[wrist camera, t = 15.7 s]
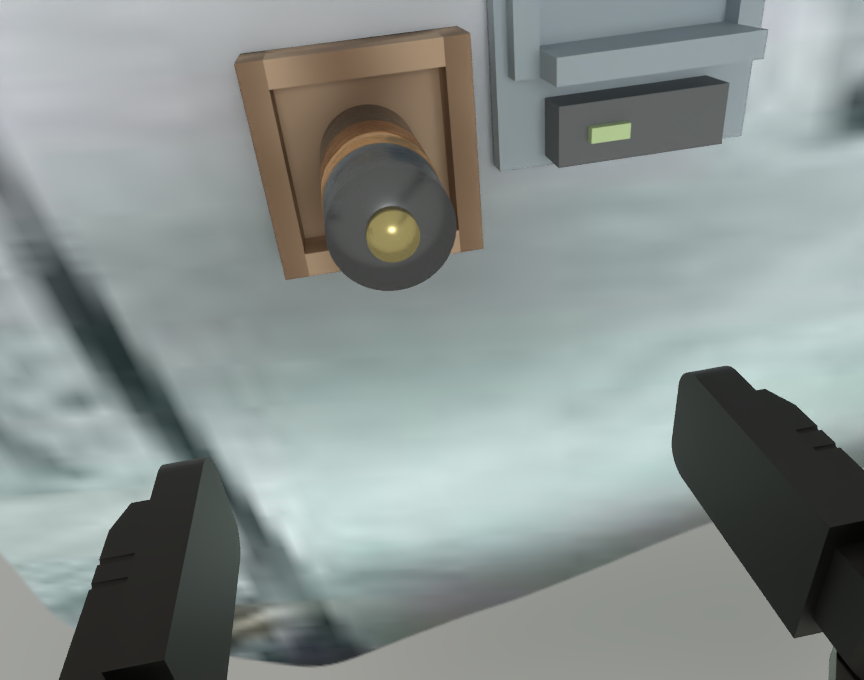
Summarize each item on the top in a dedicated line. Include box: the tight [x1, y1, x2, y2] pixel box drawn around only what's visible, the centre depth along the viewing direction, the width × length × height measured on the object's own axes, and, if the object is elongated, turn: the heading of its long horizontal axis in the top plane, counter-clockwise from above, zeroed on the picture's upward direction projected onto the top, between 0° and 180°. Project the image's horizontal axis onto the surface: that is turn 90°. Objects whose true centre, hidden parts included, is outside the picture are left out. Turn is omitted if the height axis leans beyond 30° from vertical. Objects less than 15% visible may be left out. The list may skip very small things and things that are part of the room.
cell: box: [320, 104, 456, 291], centre depth 23 cm, size 4×4×9 cm
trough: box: [234, 26, 483, 280], centre depth 27 cm, size 8×8×2 cm
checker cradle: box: [487, 0, 768, 172], centre depth 25 cm, size 11×12×4 cm
